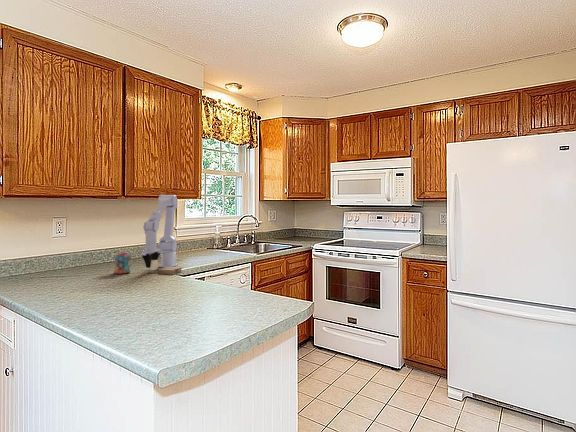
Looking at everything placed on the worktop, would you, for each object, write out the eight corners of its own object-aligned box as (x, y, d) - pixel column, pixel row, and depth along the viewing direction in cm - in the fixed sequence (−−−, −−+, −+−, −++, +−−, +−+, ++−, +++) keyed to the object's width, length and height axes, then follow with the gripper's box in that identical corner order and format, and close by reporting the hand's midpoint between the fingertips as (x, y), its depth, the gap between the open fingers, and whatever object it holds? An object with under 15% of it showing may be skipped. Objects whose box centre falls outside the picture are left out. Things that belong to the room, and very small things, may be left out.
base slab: (167, 270, 211) (167, 266, 210) (181, 271, 208) (181, 267, 208) (158, 273, 202) (158, 269, 202) (172, 274, 200) (172, 270, 200)
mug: (113, 275, 196) (113, 255, 195) (112, 272, 204) (112, 253, 203) (137, 273, 201) (137, 254, 201) (135, 270, 210) (135, 252, 209)
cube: (149, 268, 208) (149, 259, 207) (157, 268, 206) (157, 259, 206) (144, 269, 203) (144, 260, 202) (152, 270, 202) (152, 261, 201)
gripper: (152, 240, 212) (152, 263, 212) (136, 243, 198) (136, 268, 198) (163, 241, 210) (163, 264, 211) (148, 244, 196) (148, 269, 197)
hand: (151, 266), depth 204 cm, fingers closed on cube, 5 cm apart
